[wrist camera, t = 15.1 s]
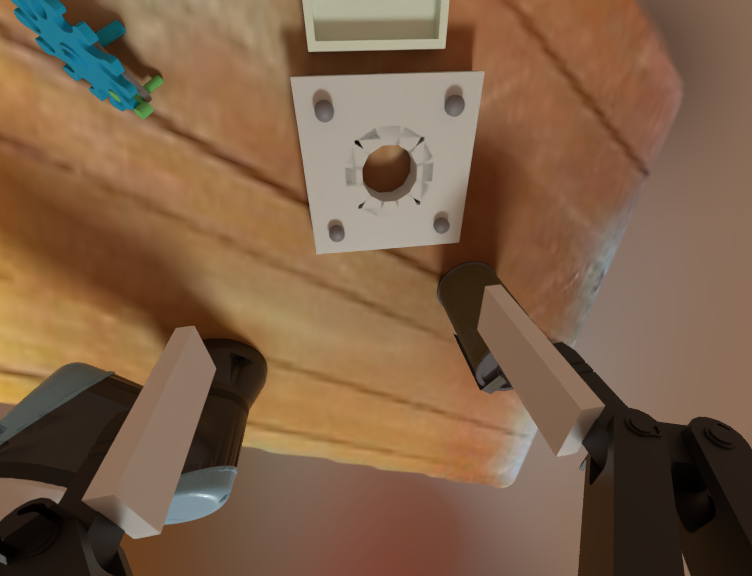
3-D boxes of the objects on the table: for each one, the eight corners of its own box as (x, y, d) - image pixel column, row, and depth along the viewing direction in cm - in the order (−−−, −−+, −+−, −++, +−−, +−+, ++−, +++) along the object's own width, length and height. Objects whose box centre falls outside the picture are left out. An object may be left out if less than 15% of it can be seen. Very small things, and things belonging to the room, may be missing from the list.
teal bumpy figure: (-1, 21, 27) (-9, -44, 21) (55, -11, 30) (64, -80, 23) (127, 134, 35) (152, 111, 28) (164, 102, 37) (195, 74, 30)
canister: (466, 250, 50) (534, 341, 34) (508, 278, 54) (586, 369, 38) (423, 298, 54) (464, 398, 38) (465, 320, 59) (518, 417, 43)
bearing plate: (317, 242, 46) (316, 257, 42) (293, 75, 34) (289, 77, 30) (451, 231, 47) (460, 245, 44) (472, 70, 36) (487, 71, 32)
